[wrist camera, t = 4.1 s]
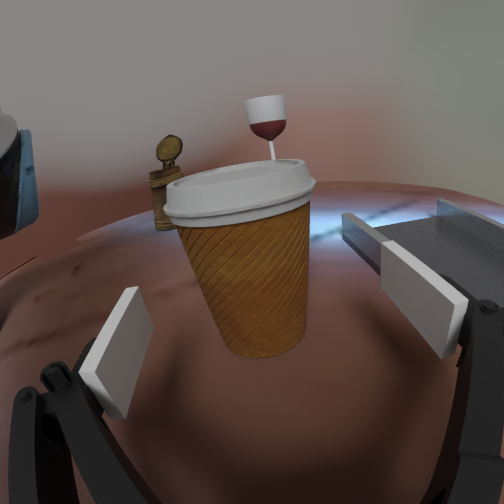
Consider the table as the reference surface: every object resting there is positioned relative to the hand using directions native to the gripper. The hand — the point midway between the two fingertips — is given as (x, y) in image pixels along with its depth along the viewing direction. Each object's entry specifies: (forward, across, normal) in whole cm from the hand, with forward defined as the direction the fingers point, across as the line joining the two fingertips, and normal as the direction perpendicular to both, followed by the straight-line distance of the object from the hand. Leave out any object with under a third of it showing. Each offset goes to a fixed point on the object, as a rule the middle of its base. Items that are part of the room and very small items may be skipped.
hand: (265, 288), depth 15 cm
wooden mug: (+46, -14, -7) cm, 49 cm away
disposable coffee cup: (+5, 0, -7) cm, 8 cm away
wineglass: (+53, +8, -7) cm, 54 cm away
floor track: (+9, +20, -6) cm, 23 cm away
